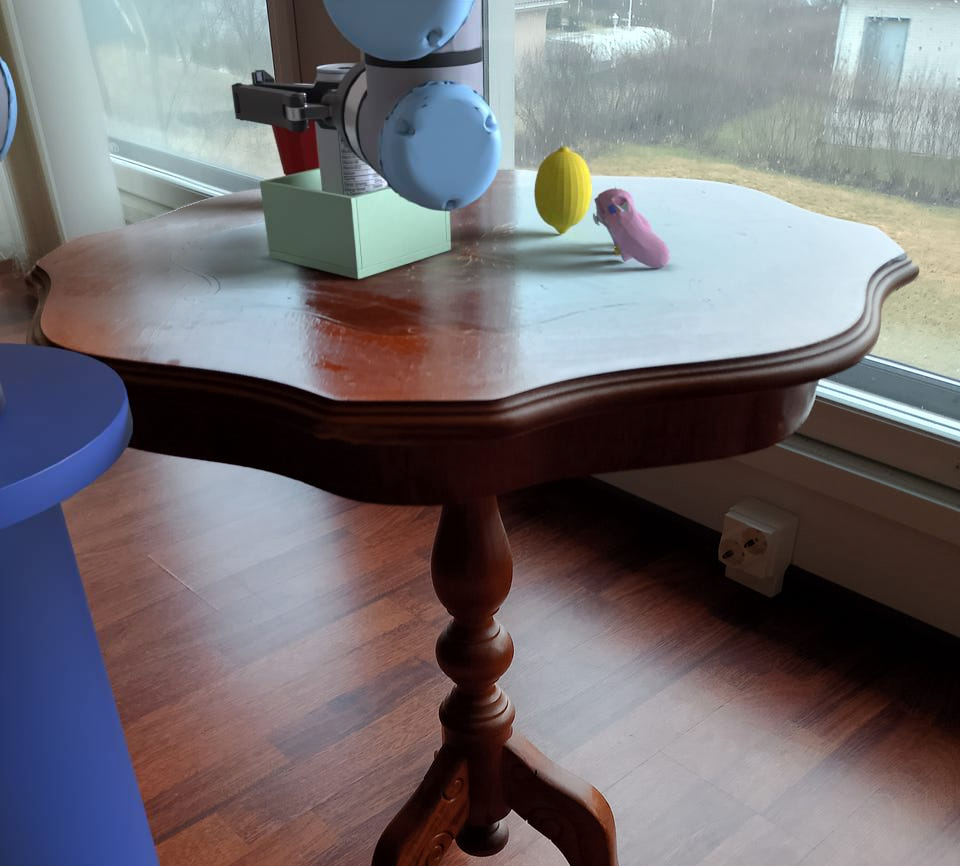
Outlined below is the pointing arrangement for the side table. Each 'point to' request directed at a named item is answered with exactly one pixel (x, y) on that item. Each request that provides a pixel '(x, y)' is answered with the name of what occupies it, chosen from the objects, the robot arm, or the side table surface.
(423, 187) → the robot arm
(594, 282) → the side table surface
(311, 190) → the bin
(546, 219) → the lemon
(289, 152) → the plastic cup
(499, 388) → the side table surface
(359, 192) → the energy drink can
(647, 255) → the pink toy bird
